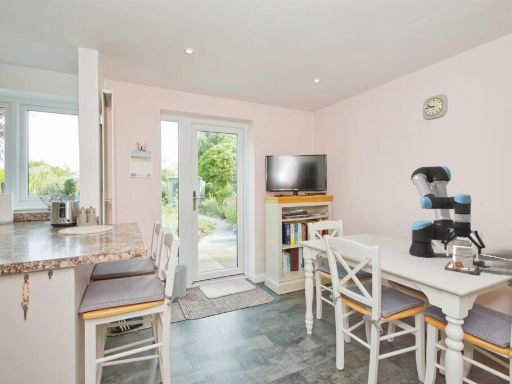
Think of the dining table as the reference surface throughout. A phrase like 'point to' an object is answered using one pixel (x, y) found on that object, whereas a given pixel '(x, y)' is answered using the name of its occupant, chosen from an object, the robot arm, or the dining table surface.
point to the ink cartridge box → (462, 254)
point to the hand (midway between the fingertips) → (462, 257)
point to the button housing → (479, 264)
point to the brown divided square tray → (462, 269)
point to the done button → (478, 260)
